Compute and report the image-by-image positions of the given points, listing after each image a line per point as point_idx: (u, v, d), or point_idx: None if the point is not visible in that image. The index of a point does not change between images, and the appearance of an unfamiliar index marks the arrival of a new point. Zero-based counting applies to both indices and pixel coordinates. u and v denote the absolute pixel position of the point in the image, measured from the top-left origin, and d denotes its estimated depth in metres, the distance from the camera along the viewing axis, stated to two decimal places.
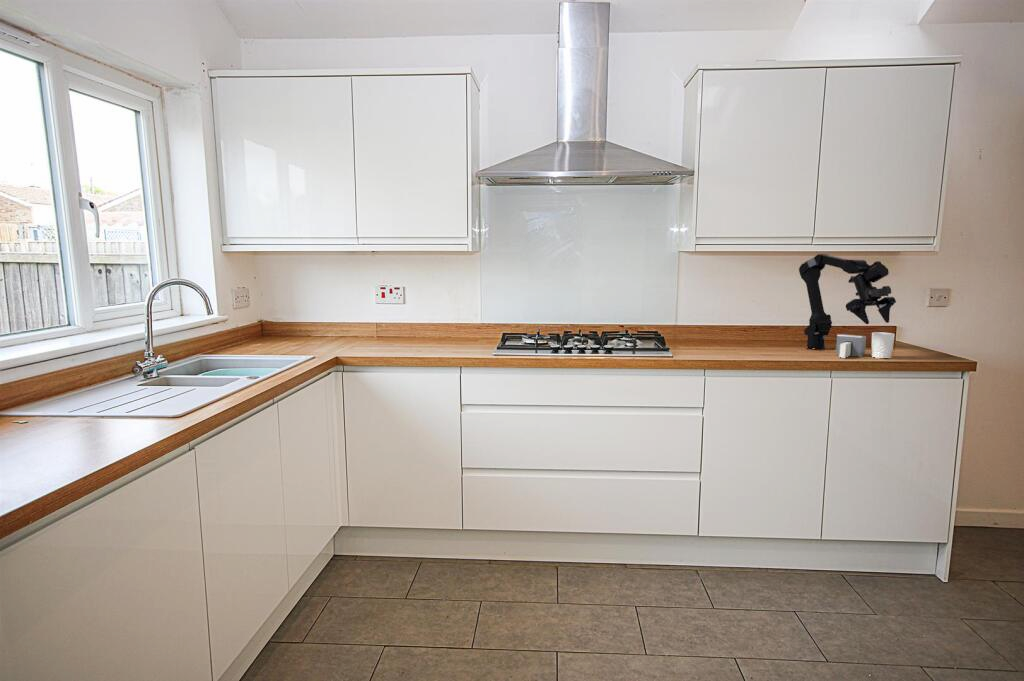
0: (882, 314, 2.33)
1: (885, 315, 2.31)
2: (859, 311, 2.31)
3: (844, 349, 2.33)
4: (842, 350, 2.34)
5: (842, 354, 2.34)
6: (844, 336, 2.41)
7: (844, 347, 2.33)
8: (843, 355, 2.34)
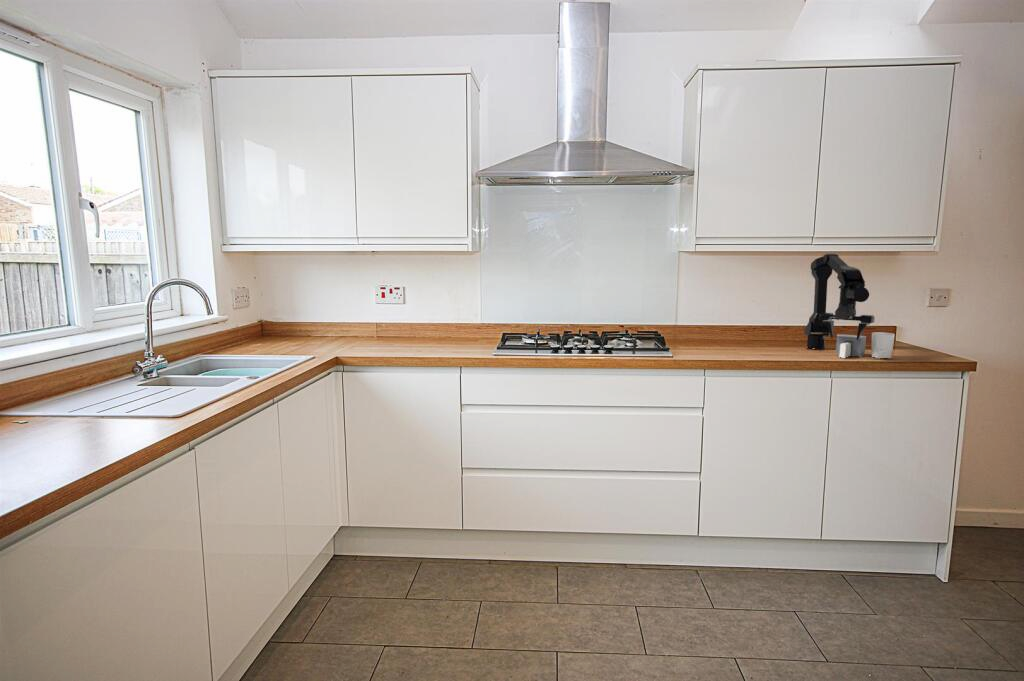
0: None
1: (858, 332, 2.31)
2: None
3: (844, 349, 2.33)
4: (842, 350, 2.34)
5: (842, 354, 2.34)
6: (844, 336, 2.41)
7: (844, 347, 2.33)
8: (843, 355, 2.34)
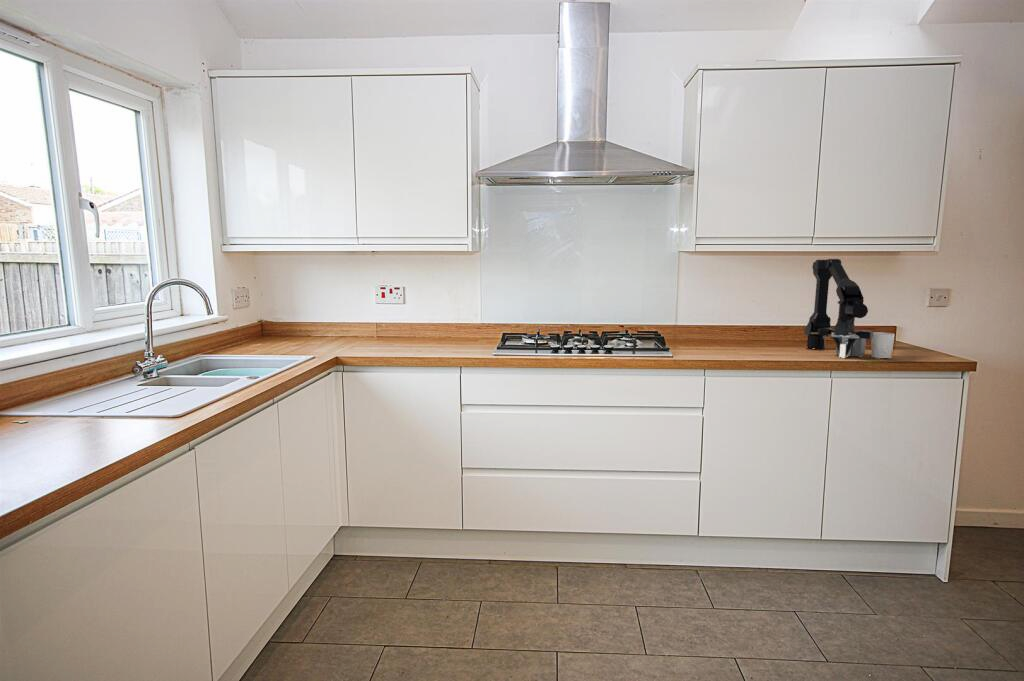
0: None
1: (847, 347, 2.34)
2: None
3: (844, 349, 2.33)
4: (842, 350, 2.34)
5: (842, 354, 2.34)
6: (844, 336, 2.41)
7: (844, 347, 2.33)
8: (843, 355, 2.34)
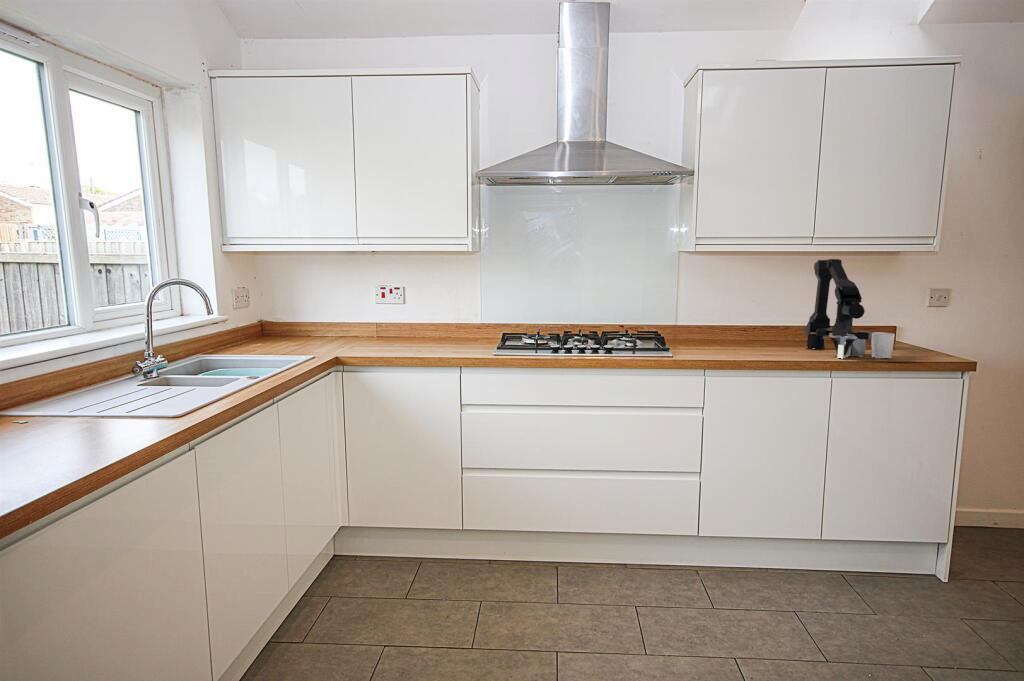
0: None
1: None
2: None
3: (842, 350, 2.31)
4: (840, 351, 2.32)
5: (840, 355, 2.32)
6: (844, 336, 2.41)
7: (842, 348, 2.31)
8: (841, 356, 2.31)
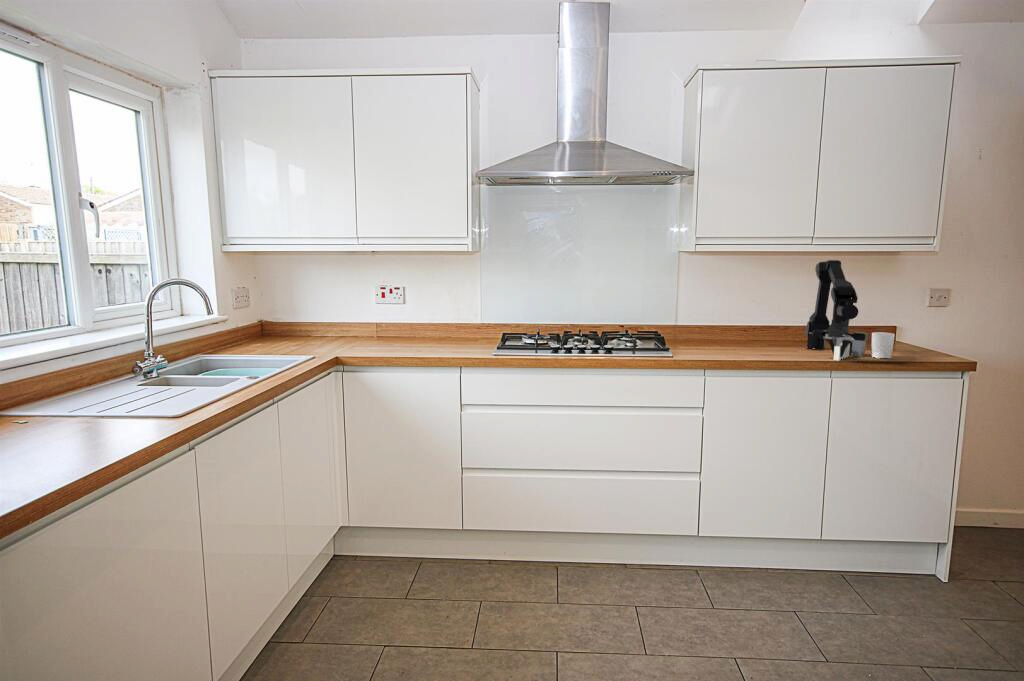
0: None
1: None
2: None
3: (838, 351, 2.27)
4: (836, 352, 2.28)
5: (836, 356, 2.28)
6: None
7: (838, 349, 2.27)
8: (837, 357, 2.27)
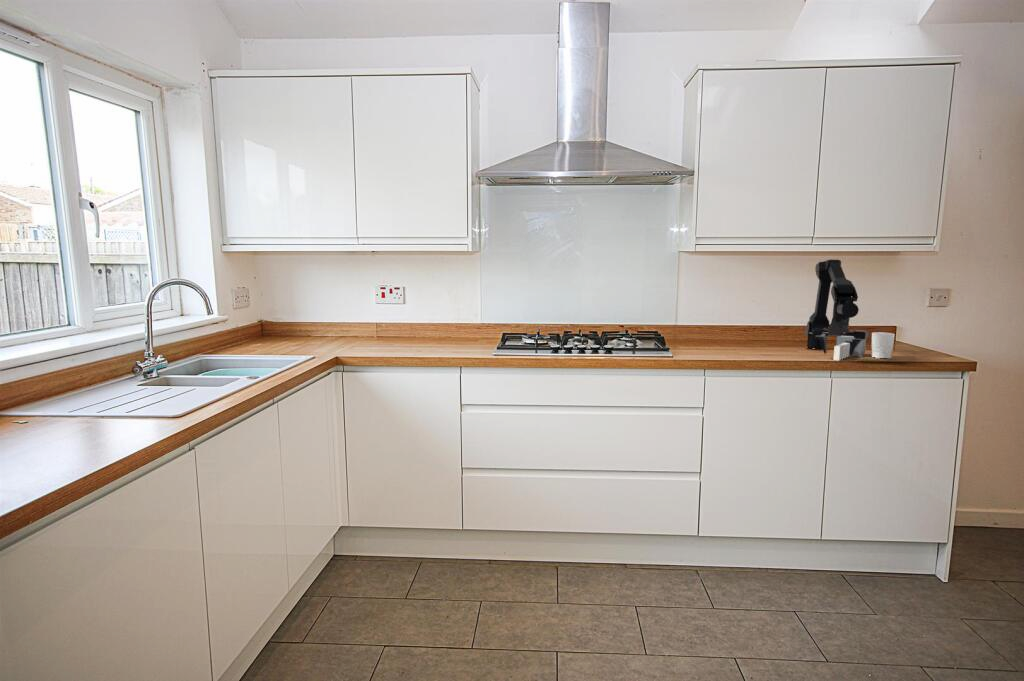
0: None
1: None
2: None
3: (838, 351, 2.27)
4: (836, 352, 2.27)
5: (836, 356, 2.28)
6: (844, 336, 2.41)
7: (838, 349, 2.27)
8: (837, 357, 2.27)
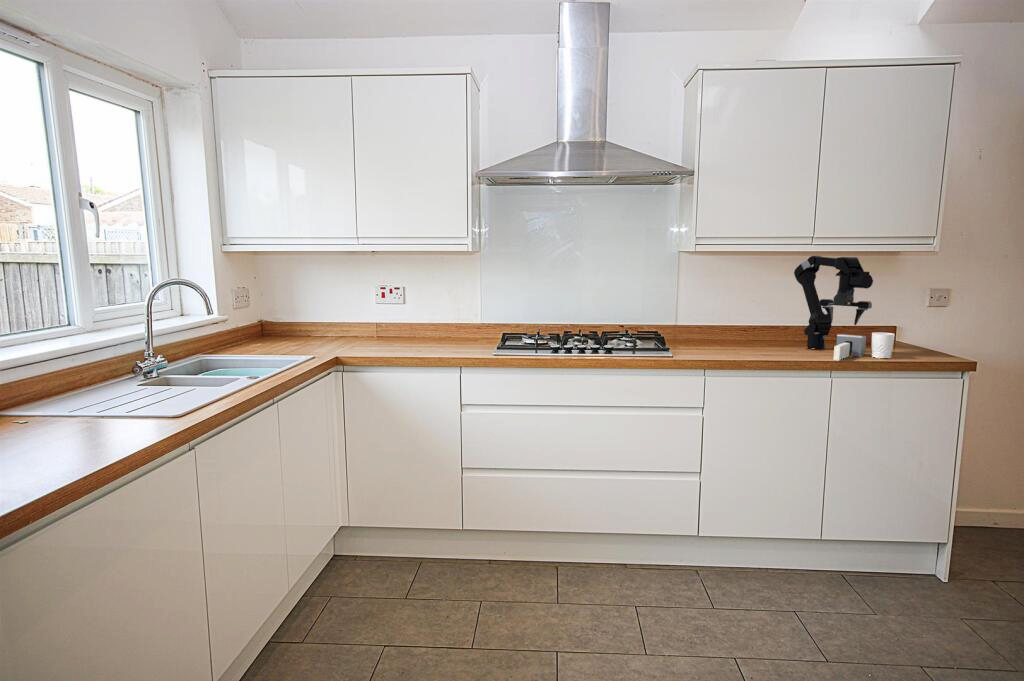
0: None
1: None
2: None
3: (838, 351, 2.27)
4: (836, 352, 2.27)
5: (836, 356, 2.28)
6: (844, 336, 2.41)
7: (838, 349, 2.27)
8: (837, 357, 2.27)
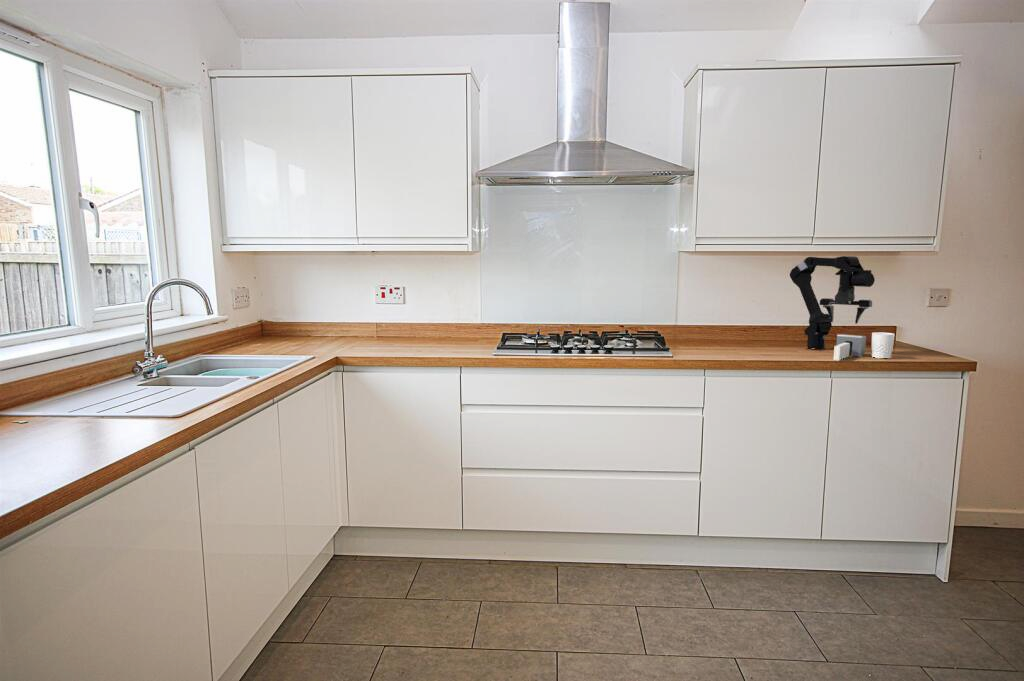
0: None
1: None
2: None
3: (838, 351, 2.27)
4: (836, 352, 2.27)
5: (836, 356, 2.28)
6: (844, 336, 2.41)
7: (838, 349, 2.27)
8: (837, 357, 2.27)
